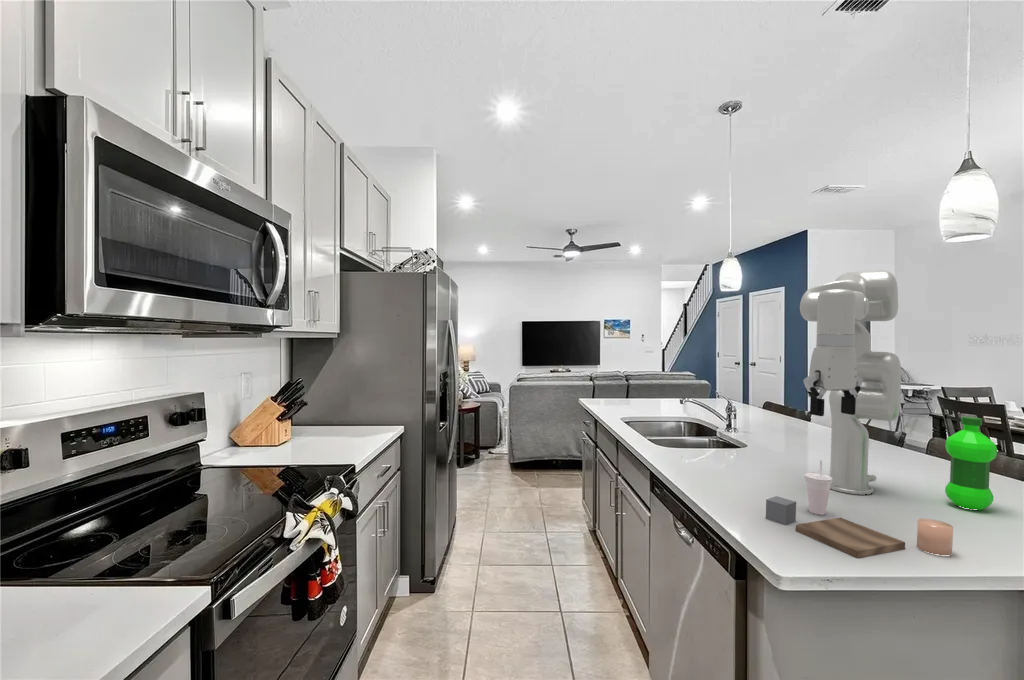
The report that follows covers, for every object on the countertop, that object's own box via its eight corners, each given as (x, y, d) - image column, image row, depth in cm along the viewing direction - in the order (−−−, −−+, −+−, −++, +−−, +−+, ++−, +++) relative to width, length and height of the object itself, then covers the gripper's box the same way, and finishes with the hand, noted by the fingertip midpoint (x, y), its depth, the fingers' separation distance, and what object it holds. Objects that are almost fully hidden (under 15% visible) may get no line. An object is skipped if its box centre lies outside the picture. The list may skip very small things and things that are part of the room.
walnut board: (840, 523, 124) (840, 517, 124) (905, 548, 110) (905, 542, 110) (795, 530, 119) (795, 524, 119) (857, 558, 105) (857, 551, 105)
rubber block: (775, 514, 130) (776, 496, 129) (795, 521, 125) (796, 501, 125) (765, 518, 127) (766, 499, 127) (785, 525, 123) (786, 505, 122)
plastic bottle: (944, 498, 145) (948, 413, 144) (995, 508, 137) (998, 418, 137) (941, 506, 138) (944, 417, 137) (994, 517, 130) (997, 422, 130)
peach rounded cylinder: (927, 543, 113) (928, 517, 113) (958, 554, 108) (959, 527, 108) (910, 546, 111) (911, 520, 111) (940, 558, 106) (941, 530, 106)
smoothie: (822, 518, 127) (824, 464, 127) (798, 510, 133) (799, 458, 133) (836, 514, 130) (838, 461, 130) (812, 506, 136) (814, 455, 136)
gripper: (847, 342, 123) (844, 410, 123) (793, 341, 118) (790, 413, 118) (877, 343, 116) (875, 416, 116) (821, 342, 110) (818, 418, 111)
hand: (832, 414), depth 117 cm, fingers open, 9 cm apart
